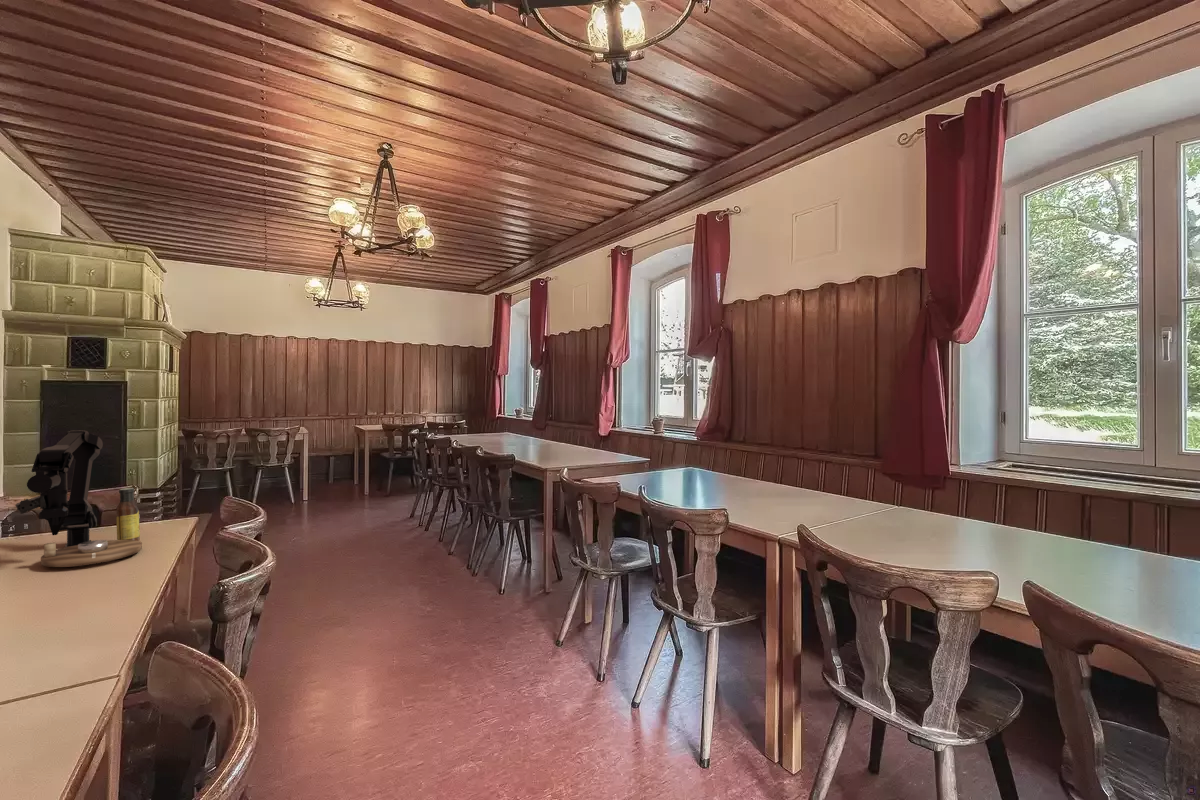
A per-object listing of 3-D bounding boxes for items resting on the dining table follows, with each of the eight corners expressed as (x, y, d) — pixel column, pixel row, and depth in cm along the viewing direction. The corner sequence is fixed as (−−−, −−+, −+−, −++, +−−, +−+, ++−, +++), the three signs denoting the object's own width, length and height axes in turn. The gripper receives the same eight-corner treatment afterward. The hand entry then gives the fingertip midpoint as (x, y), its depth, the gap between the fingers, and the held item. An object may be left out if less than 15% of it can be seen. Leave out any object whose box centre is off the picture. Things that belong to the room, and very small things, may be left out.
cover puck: (78, 550, 172) (78, 542, 172) (107, 545, 177) (107, 538, 177) (78, 555, 167) (78, 547, 167) (108, 550, 172) (108, 543, 172)
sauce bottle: (144, 540, 194) (144, 487, 193) (127, 545, 187) (127, 490, 187) (128, 539, 194) (128, 486, 194) (111, 544, 188) (111, 489, 188)
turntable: (43, 553, 173) (43, 537, 172) (139, 540, 189) (140, 525, 189) (37, 572, 155) (37, 553, 155) (144, 555, 172) (144, 539, 172)
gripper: (20, 486, 171) (20, 533, 172) (14, 494, 158) (15, 546, 158) (69, 482, 179) (69, 527, 179) (67, 490, 166) (67, 539, 166)
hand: (54, 534), depth 171 cm, fingers closed
